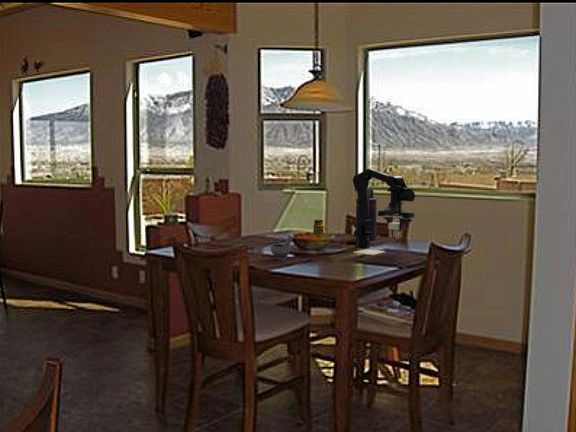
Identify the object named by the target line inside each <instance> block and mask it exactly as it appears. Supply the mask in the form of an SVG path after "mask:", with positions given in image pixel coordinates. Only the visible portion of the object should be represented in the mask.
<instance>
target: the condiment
mask: <svg viewBox="0 0 576 432" xmlns="http://www.w3.org/2000/svg"><path fill="white" fill-rule="evenodd" d="M312 229H313V230H312V231H313V233H314V234H325V230H324V229H325V225H324V219H314V220H313V228H312Z"/></svg>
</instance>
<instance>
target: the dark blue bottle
mask: <svg viewBox="0 0 576 432" xmlns="http://www.w3.org/2000/svg"><path fill="white" fill-rule="evenodd" d="M366 192H367V203H368V213H369V218H370V219H371V220H373V225H374V227H373V231H372V234H371V236H369V239H370V241H374V239H376V238H377V215H378V211H377V203H378V202H377V198H375V196H374V188H367V190H366ZM355 203H356V205H355V230H356V229H357V225H358V221H359V218H360V215H359V205H358V197H357V198H356V199H355Z"/></svg>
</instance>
